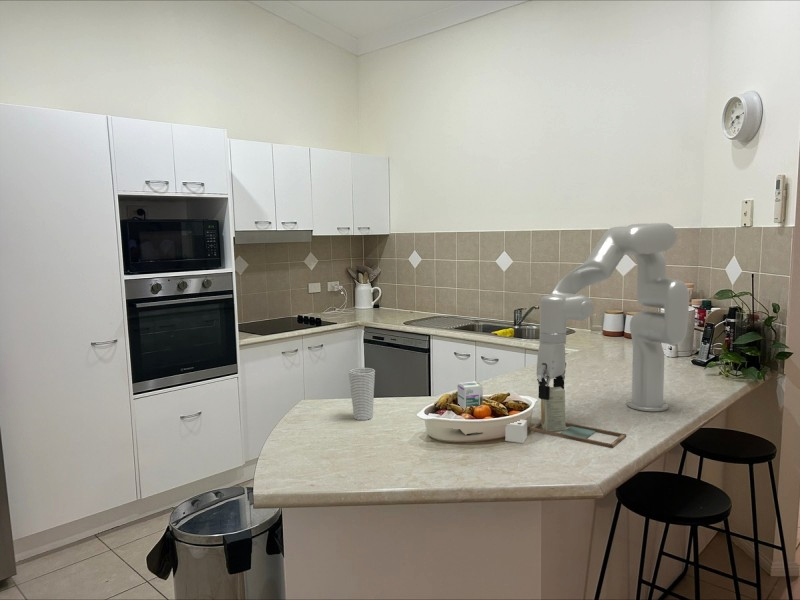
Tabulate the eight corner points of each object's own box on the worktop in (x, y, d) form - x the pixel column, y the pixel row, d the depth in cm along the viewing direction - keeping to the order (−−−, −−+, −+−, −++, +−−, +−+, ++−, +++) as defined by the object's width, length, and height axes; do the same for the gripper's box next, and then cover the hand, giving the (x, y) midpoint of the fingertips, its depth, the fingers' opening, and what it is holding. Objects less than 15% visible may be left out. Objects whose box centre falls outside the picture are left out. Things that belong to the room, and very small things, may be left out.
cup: (360, 412, 192) (358, 366, 191) (381, 415, 188) (380, 369, 186) (344, 419, 185) (343, 372, 183) (366, 423, 181) (365, 374, 179)
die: (509, 435, 167) (509, 418, 166) (527, 437, 165) (527, 419, 164) (505, 440, 163) (505, 423, 162) (523, 443, 160) (523, 425, 160)
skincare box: (561, 426, 174) (561, 386, 172) (565, 430, 170) (566, 390, 168) (540, 426, 174) (540, 386, 172) (544, 431, 169) (544, 390, 168)
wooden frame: (546, 421, 179) (546, 418, 178) (626, 436, 163) (626, 434, 163) (530, 430, 170) (530, 427, 170) (612, 448, 155) (612, 445, 155)
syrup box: (465, 435, 168) (464, 386, 166) (457, 429, 173) (457, 382, 172) (483, 433, 169) (483, 385, 167) (475, 427, 175) (475, 380, 173)
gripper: (553, 333, 177) (552, 387, 179) (527, 340, 164) (525, 399, 166) (577, 335, 173) (575, 391, 174) (551, 343, 159) (550, 404, 161)
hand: (551, 395), depth 170 cm, fingers open, 9 cm apart
